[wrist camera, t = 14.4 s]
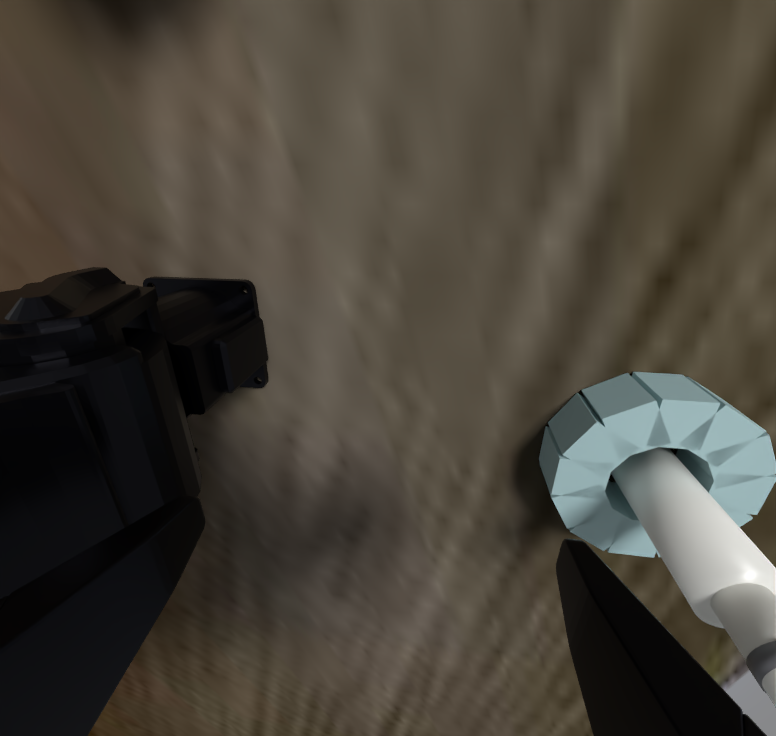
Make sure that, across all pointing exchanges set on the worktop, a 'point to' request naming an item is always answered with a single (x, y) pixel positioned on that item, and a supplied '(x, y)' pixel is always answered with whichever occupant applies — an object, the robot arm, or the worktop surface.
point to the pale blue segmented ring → (644, 432)
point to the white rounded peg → (706, 556)
